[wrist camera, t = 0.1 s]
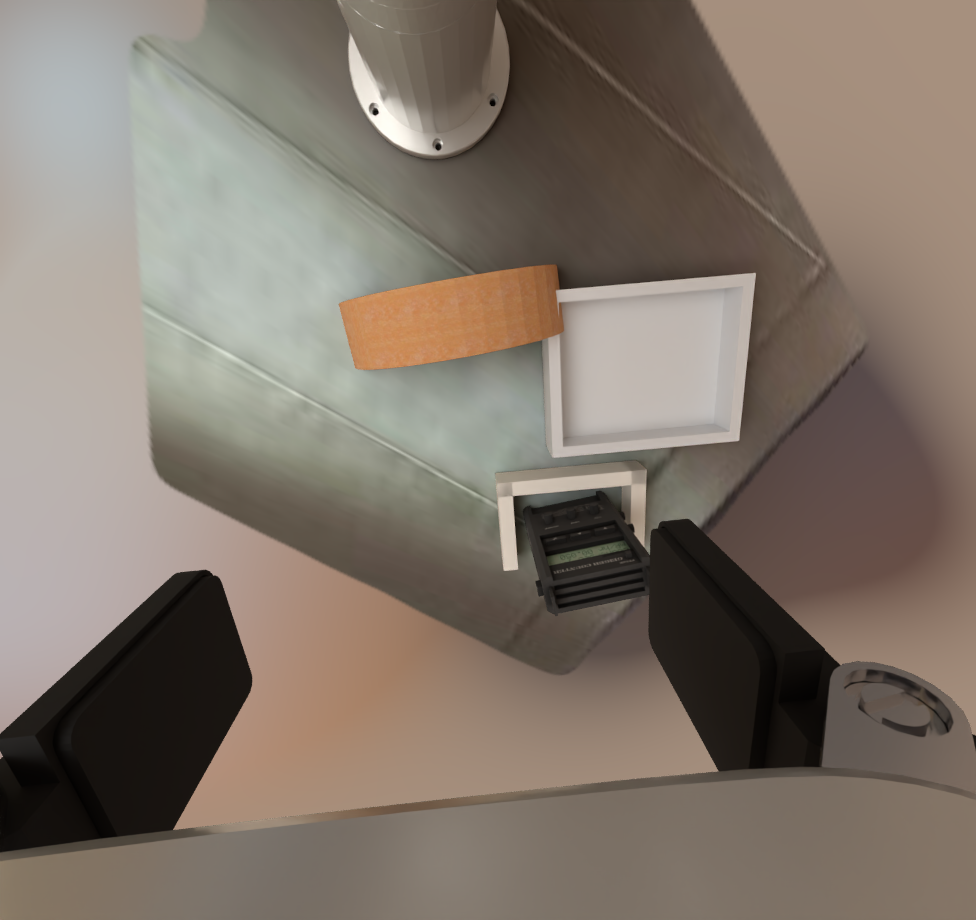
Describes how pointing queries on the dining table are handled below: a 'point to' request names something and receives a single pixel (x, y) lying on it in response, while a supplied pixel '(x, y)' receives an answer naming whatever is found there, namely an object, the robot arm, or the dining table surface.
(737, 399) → the parts tray
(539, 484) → the cream piece
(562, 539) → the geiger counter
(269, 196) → the dining table surface
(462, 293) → the arch
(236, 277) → the dining table surface
